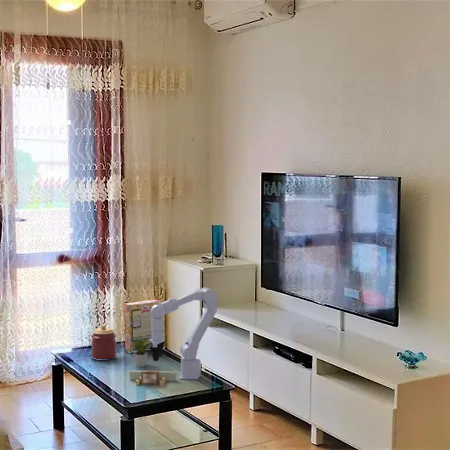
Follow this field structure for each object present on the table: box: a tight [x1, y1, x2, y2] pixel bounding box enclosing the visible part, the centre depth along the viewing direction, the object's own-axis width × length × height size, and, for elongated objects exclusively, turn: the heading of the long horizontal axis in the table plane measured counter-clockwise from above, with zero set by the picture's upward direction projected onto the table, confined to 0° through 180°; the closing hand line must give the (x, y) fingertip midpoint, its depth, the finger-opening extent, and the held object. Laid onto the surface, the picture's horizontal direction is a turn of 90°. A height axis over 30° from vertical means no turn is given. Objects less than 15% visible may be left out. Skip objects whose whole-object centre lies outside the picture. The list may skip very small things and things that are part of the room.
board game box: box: [123, 299, 162, 352], centre depth 399 cm, size 20×6×27 cm, turn 126°
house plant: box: [130, 334, 153, 368], centre depth 366 cm, size 14×14×16 cm
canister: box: [90, 324, 117, 360], centre depth 382 cm, size 13×13×18 cm
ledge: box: [129, 370, 177, 386], centre depth 337 cm, size 22×10×4 cm, turn 85°
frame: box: [140, 369, 160, 386], centre depth 335 cm, size 8×3×6 cm, turn 84°
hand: (157, 358), depth 341 cm, fingers open, 7 cm apart
